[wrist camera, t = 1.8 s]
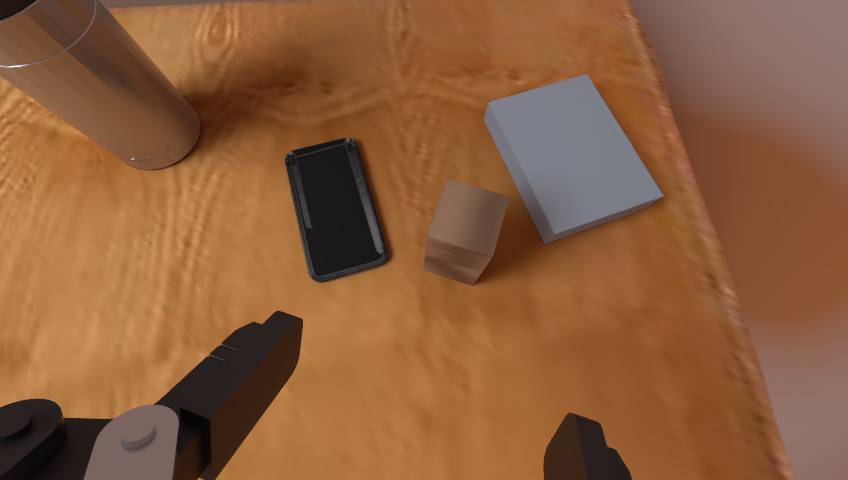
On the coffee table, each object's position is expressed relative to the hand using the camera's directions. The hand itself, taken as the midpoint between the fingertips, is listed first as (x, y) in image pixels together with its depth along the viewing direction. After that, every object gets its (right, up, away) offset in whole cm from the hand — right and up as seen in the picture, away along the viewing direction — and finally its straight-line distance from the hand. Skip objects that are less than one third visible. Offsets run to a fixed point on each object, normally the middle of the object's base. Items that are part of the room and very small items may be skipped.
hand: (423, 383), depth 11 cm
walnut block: (+3, +3, +26) cm, 26 cm away
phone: (-9, +7, +28) cm, 30 cm away
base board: (+15, +13, +30) cm, 36 cm away
